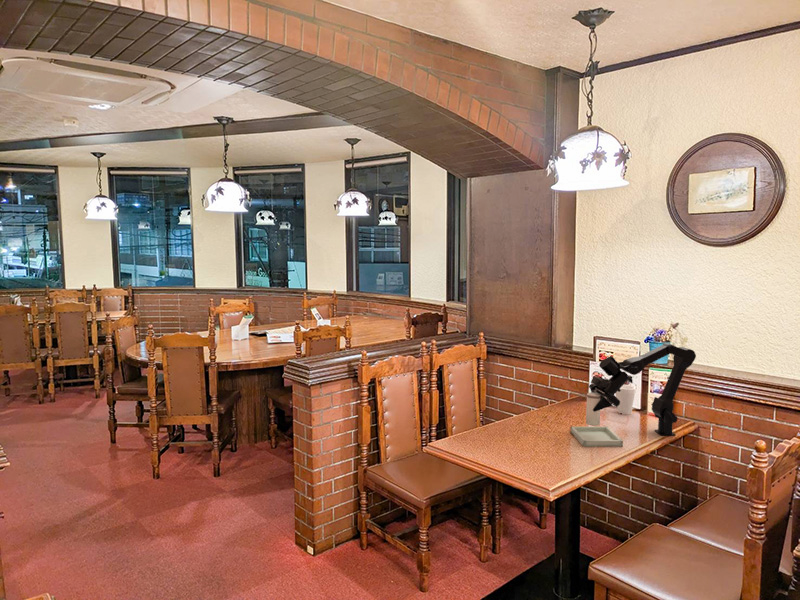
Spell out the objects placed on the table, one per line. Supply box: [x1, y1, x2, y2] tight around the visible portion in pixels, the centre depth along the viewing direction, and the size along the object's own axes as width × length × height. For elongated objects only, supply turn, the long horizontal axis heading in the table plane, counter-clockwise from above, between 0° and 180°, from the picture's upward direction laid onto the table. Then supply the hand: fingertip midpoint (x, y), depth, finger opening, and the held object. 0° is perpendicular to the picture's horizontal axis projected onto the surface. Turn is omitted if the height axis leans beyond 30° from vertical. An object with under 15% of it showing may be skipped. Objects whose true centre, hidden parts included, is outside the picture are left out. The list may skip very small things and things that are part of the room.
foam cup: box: [614, 384, 637, 415], centre depth 276 cm, size 10×9×13 cm
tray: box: [570, 426, 624, 448], centre depth 240 cm, size 18×16×2 cm
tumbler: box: [585, 391, 601, 427], centre depth 242 cm, size 6×6×13 cm
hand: (590, 408), depth 242 cm, fingers closed on tumbler, 6 cm apart
